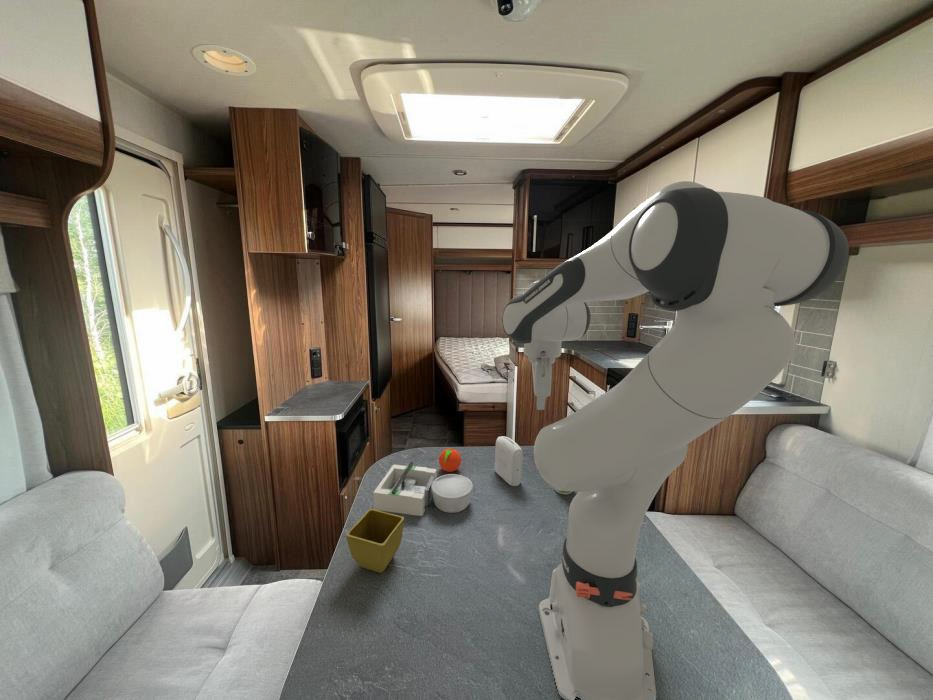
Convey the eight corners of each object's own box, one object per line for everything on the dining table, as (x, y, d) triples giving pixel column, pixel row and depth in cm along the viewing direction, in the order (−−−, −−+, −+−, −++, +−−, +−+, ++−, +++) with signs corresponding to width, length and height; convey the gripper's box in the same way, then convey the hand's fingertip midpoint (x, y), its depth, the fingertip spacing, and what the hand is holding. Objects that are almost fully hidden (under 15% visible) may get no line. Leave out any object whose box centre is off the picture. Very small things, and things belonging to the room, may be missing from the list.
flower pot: (384, 584, 72) (383, 545, 70) (347, 572, 75) (344, 534, 73) (405, 552, 80) (404, 516, 78) (371, 542, 83) (369, 508, 81)
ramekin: (457, 485, 105) (457, 469, 104) (481, 505, 96) (481, 488, 95) (423, 499, 99) (423, 481, 98) (445, 522, 90) (445, 503, 89)
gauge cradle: (422, 516, 92) (422, 497, 91) (374, 509, 94) (373, 491, 93) (436, 484, 105) (436, 468, 104) (393, 479, 107) (393, 463, 106)
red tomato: (455, 480, 108) (455, 458, 106) (434, 475, 110) (433, 454, 108) (464, 466, 115) (464, 446, 114) (443, 462, 117) (443, 442, 116)
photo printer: (523, 484, 106) (525, 445, 103) (511, 488, 104) (513, 448, 101) (504, 467, 115) (505, 431, 112) (492, 470, 113) (493, 434, 110)
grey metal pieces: (423, 516, 91) (423, 495, 90) (384, 511, 93) (383, 490, 92) (438, 483, 106) (438, 464, 104) (404, 479, 107) (403, 460, 106)
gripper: (559, 357, 77) (555, 418, 80) (552, 341, 97) (550, 390, 100) (529, 356, 78) (527, 417, 81) (528, 340, 98) (526, 389, 101)
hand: (539, 402), depth 91 cm, fingers open, 8 cm apart
